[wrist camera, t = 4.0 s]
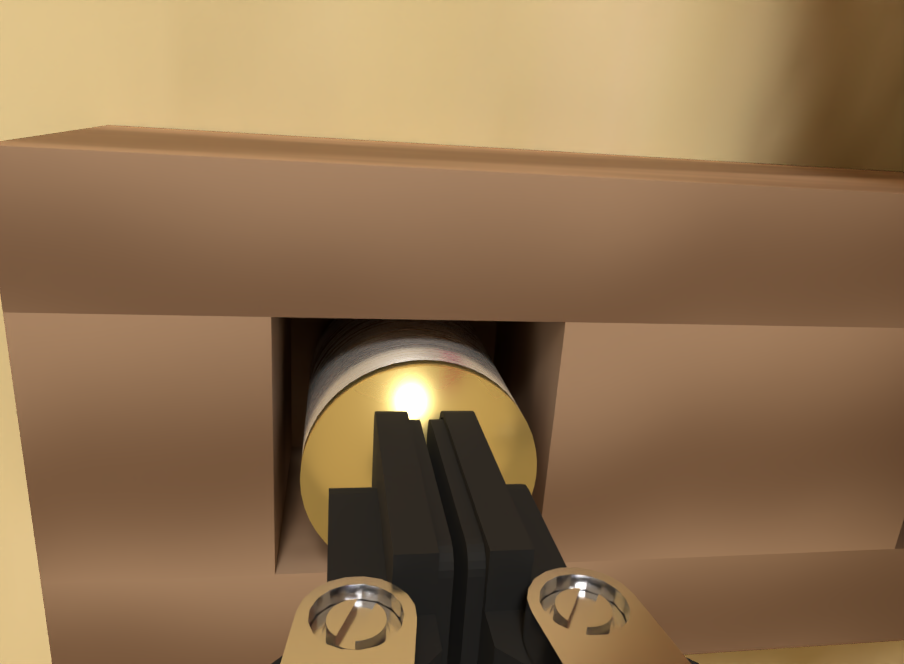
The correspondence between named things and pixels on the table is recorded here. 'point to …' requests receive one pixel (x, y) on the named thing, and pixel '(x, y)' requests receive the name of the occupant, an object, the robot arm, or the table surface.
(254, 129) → the table surface
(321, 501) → the peg
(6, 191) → the collar block
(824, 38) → the table surface
